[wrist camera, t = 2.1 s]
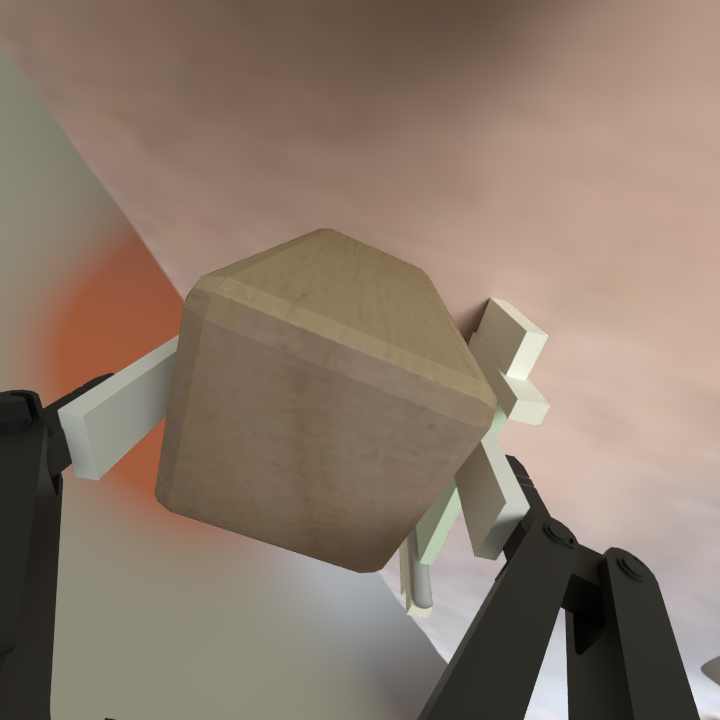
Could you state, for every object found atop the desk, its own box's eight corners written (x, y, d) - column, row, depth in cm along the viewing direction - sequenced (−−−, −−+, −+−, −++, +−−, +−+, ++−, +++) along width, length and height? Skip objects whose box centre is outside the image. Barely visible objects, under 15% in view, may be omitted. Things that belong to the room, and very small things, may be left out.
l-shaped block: (486, 296, 27) (543, 349, 18) (509, 301, 27) (578, 357, 18) (396, 527, 41) (399, 628, 31) (411, 530, 41) (419, 632, 31)
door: (422, 497, 38) (431, 565, 31) (400, 492, 38) (403, 559, 31) (482, 358, 30) (512, 408, 22) (452, 352, 30) (474, 399, 22)
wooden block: (286, 329, 30) (139, 514, 12) (320, 222, 26) (170, 269, 8) (383, 368, 31) (378, 591, 13) (431, 272, 27) (522, 412, 9)
